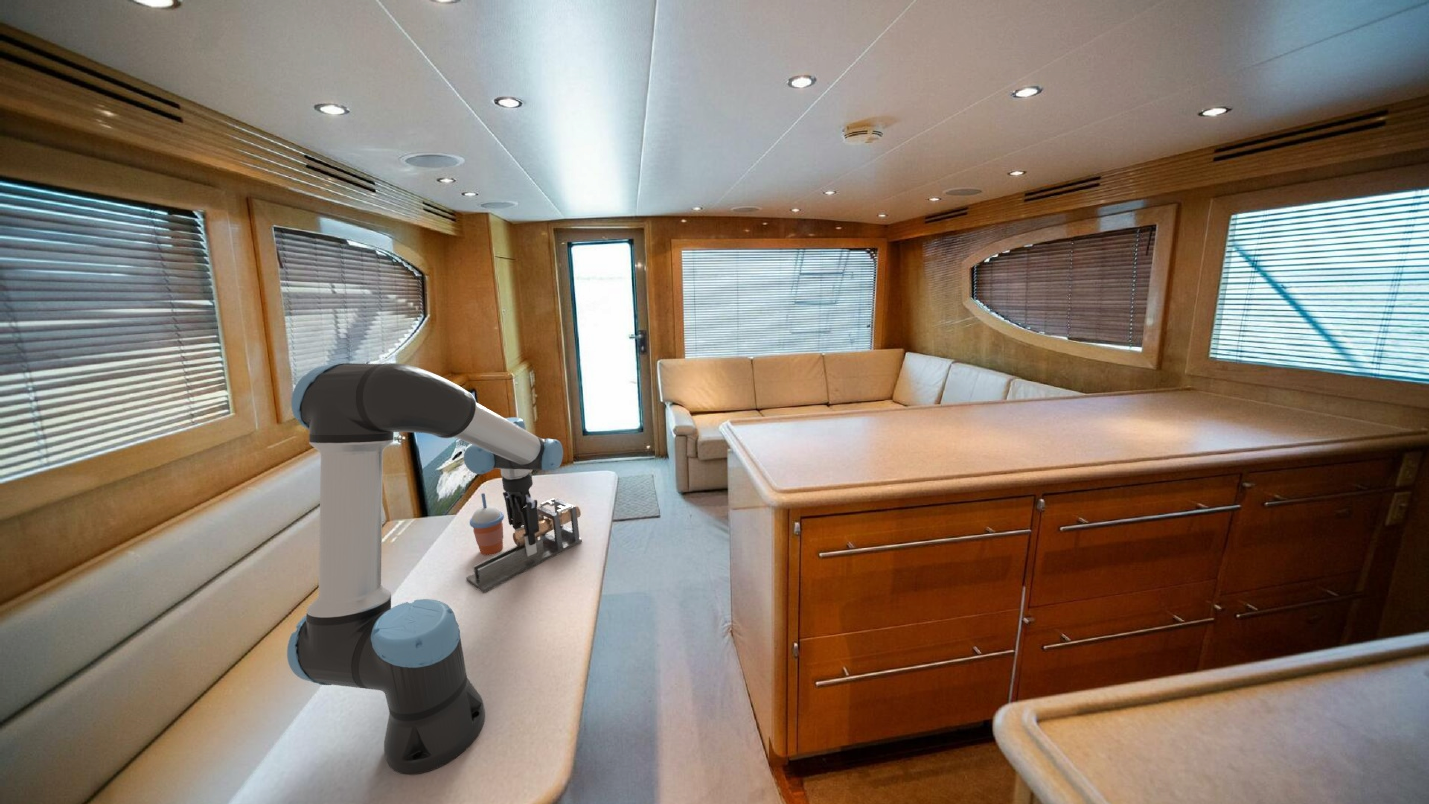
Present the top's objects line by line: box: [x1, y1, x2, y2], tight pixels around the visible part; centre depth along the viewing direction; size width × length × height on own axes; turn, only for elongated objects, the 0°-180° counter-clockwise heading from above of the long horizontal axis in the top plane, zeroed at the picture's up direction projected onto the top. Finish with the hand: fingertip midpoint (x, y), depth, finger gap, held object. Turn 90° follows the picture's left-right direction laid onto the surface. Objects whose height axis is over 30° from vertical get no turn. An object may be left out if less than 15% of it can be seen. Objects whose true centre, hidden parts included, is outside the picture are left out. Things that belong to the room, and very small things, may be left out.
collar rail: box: [465, 497, 583, 594], centre depth 136 cm, size 30×9×13 cm, turn 142°
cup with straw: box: [469, 492, 505, 556], centre depth 141 cm, size 9×9×18 cm
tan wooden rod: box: [512, 504, 581, 546], centre depth 142 cm, size 20×4×4 cm, turn 142°
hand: (527, 551), depth 137 cm, fingers closed on tan wooden rod, 4 cm apart
